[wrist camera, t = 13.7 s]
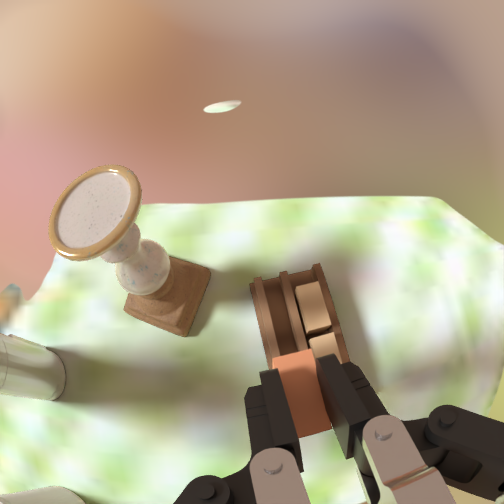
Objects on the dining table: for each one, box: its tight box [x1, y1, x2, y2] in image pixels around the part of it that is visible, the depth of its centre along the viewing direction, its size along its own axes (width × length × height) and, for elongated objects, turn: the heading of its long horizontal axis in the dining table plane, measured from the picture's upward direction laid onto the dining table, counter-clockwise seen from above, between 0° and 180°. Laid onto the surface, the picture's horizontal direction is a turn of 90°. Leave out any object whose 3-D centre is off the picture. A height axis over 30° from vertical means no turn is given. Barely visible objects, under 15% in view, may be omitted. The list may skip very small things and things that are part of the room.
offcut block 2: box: [307, 332, 342, 364], centre depth 35 cm, size 6×3×4 cm, turn 12°
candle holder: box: [48, 165, 211, 337], centre depth 33 cm, size 11×11×24 cm
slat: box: [272, 349, 332, 438], centre depth 16 cm, size 4×2×14 cm, turn 12°
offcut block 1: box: [294, 281, 331, 337], centre depth 38 cm, size 6×3×4 cm, turn 12°
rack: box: [250, 263, 350, 370], centre depth 38 cm, size 20×11×4 cm, turn 12°
